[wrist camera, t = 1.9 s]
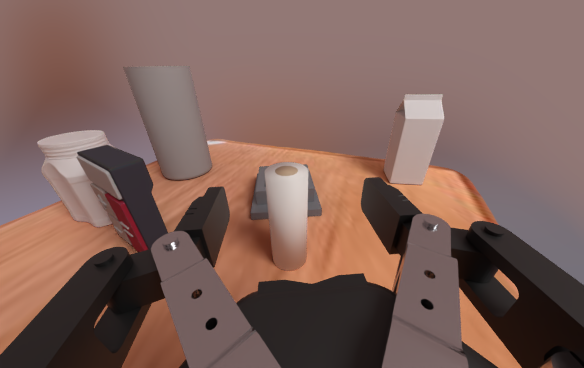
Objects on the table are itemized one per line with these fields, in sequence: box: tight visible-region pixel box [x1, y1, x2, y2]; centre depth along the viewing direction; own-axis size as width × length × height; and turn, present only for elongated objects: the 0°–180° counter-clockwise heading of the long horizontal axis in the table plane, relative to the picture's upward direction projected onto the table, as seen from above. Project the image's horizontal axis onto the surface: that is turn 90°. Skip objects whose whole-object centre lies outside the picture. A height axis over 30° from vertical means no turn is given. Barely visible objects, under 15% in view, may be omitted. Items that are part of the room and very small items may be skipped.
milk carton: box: [383, 94, 444, 185], centre depth 46 cm, size 7×7×19 cm
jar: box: [37, 130, 115, 227], centre depth 38 cm, size 12×10×15 cm
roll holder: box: [251, 165, 322, 220], centre depth 44 cm, size 13×16×4 cm
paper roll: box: [264, 162, 308, 271], centre depth 27 cm, size 5×5×14 cm
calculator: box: [76, 145, 168, 252], centre depth 30 cm, size 11×4×15 cm, turn 57°
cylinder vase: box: [124, 66, 212, 180], centre depth 51 cm, size 12×12×25 cm
